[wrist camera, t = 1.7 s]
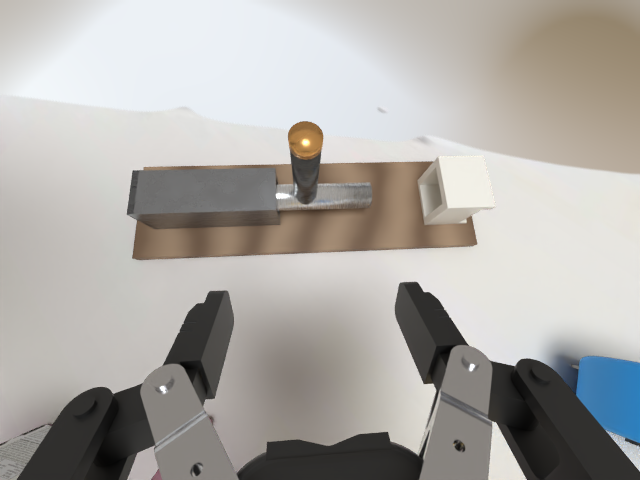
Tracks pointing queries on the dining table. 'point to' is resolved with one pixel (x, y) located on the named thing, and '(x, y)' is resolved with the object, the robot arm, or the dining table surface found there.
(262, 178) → the outer sleeve
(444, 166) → the socket
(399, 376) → the dining table surface
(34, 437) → the candy bar box
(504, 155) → the dining table surface
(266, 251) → the base board
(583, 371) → the alarm clock
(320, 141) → the sliding bolt
